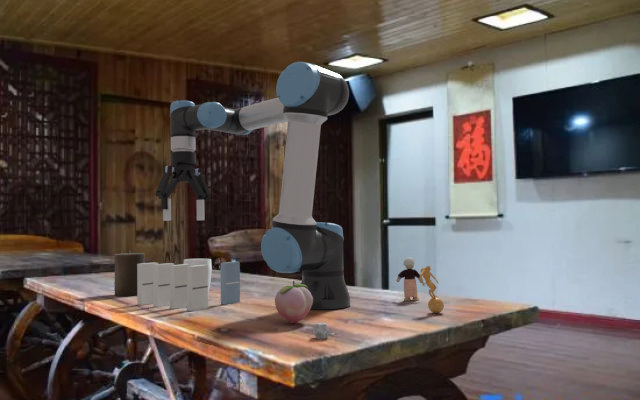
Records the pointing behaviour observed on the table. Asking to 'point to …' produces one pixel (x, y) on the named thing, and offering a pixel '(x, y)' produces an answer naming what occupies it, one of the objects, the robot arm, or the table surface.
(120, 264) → the pillar candle
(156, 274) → the domino
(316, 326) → the game die
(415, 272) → the grandmother figurine
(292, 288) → the decorative fruit
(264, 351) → the table surface
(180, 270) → the domino
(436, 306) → the figurine
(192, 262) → the cup
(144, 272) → the domino
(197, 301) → the domino
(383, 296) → the table surface
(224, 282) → the blue domino
